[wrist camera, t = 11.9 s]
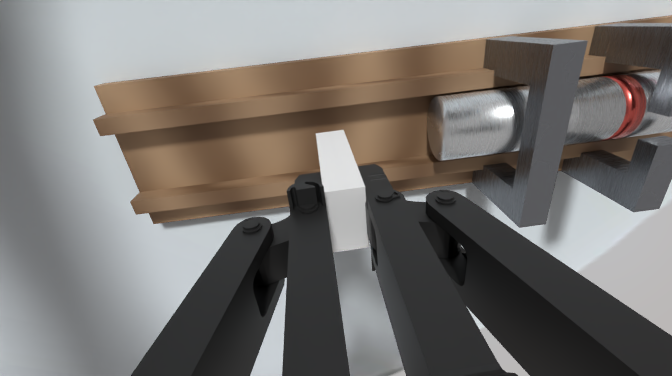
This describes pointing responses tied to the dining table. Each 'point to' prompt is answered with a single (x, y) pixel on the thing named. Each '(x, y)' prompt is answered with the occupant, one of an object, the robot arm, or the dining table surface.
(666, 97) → the collars
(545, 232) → the dining table surface
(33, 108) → the dining table surface
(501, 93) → the tube
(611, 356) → the robot arm
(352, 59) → the cradle
